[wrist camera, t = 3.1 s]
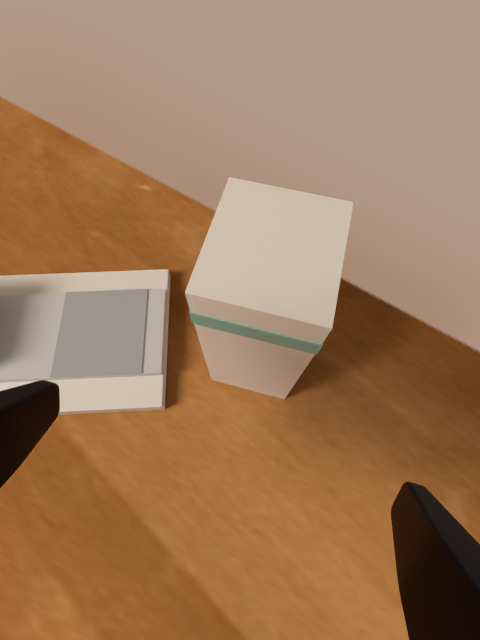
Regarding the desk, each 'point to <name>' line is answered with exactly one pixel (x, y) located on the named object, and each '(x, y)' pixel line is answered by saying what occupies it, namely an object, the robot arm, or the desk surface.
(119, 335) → the rail board
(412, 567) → the robot arm
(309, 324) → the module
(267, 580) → the desk surface
